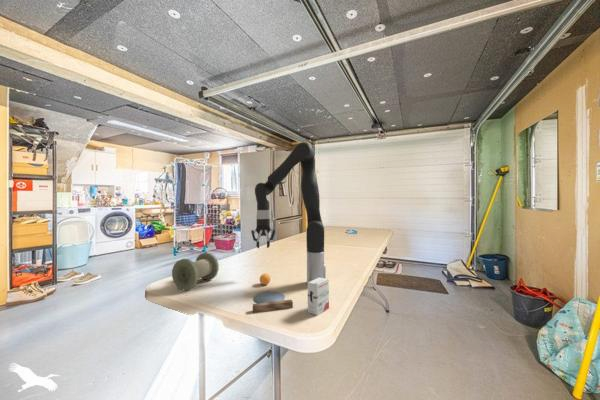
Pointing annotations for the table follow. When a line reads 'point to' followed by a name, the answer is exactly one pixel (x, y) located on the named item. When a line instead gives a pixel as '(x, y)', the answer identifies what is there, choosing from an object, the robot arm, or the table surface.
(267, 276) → the ball
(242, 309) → the table surface
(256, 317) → the table surface
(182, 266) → the spool
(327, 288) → the ink box
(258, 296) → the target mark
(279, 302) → the brown square bar
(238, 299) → the table surface
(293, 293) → the table surface
